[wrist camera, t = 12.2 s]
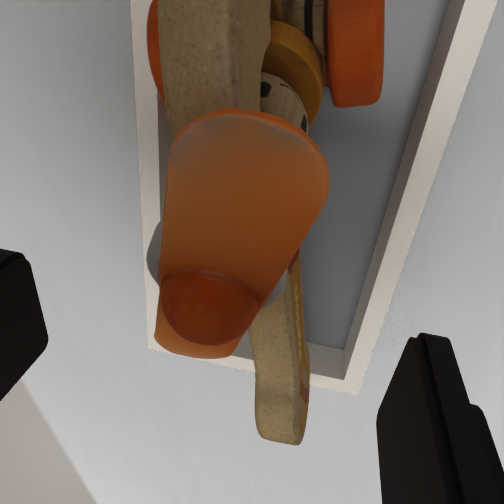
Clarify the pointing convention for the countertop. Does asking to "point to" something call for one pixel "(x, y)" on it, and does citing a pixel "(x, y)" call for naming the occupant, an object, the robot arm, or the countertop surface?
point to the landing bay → (346, 179)
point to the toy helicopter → (250, 175)
